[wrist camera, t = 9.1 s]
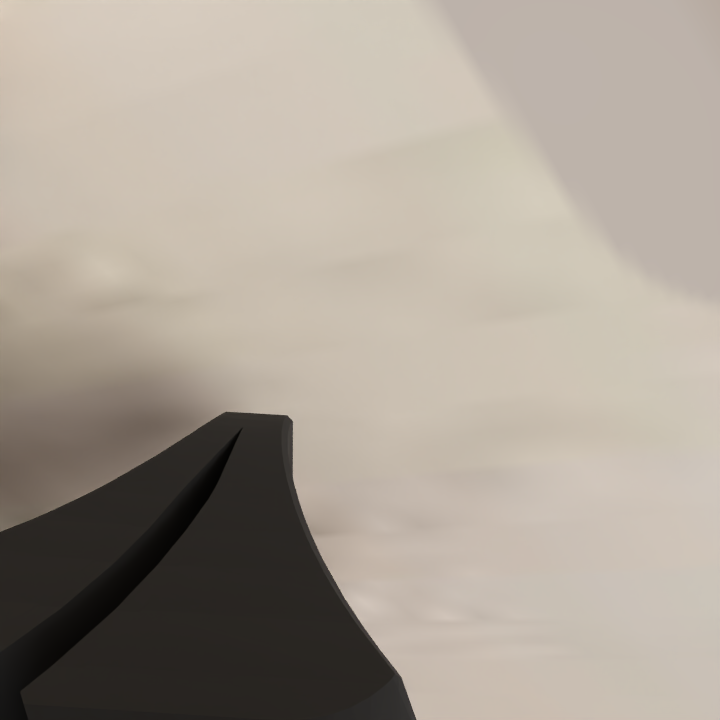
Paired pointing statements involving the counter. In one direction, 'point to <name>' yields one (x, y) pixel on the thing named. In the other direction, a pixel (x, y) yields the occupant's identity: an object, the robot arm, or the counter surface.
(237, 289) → the counter surface
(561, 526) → the counter surface
